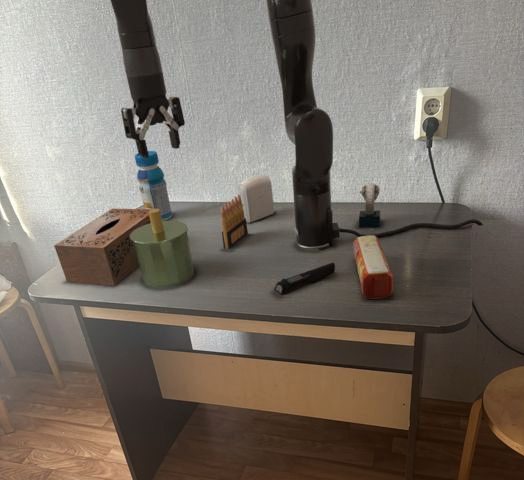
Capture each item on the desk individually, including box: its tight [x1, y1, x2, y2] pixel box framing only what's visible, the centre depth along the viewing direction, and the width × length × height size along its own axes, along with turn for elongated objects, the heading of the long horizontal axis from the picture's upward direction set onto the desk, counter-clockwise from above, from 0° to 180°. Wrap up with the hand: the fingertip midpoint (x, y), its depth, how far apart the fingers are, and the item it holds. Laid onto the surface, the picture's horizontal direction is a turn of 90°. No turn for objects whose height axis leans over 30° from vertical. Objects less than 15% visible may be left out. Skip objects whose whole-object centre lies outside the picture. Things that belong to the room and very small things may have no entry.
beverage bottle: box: [134, 150, 173, 221], centre depth 158 cm, size 8×8×20 cm
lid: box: [130, 209, 189, 245], centre depth 119 cm, size 14×14×6 cm
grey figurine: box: [358, 182, 381, 229], centre depth 139 cm, size 6×8×11 cm
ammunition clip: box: [220, 193, 249, 250], centre depth 137 cm, size 11×2×12 cm, turn 153°
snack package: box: [352, 234, 394, 300], centre depth 114 cm, size 21×7×7 cm, turn 177°
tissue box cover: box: [53, 207, 151, 287], centre depth 135 cm, size 26×14×10 cm, turn 161°
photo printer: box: [238, 174, 275, 223], centre depth 152 cm, size 10×4×12 cm, turn 127°
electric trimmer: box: [274, 262, 336, 296], centre depth 116 cm, size 4×16×3 cm, turn 121°
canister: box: [133, 231, 195, 288], centre depth 124 cm, size 13×13×12 cm
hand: (160, 152), depth 116 cm, fingers open, 8 cm apart
